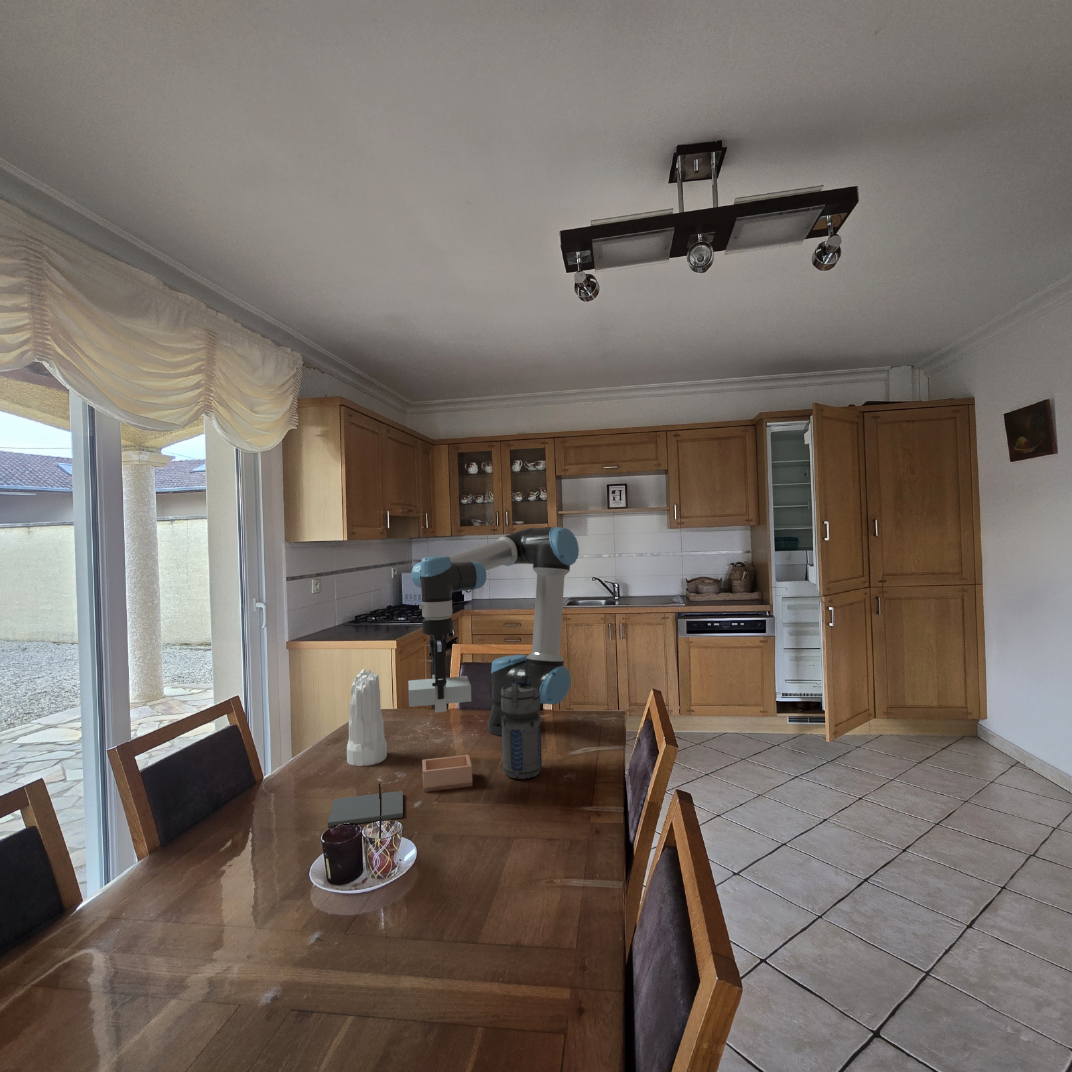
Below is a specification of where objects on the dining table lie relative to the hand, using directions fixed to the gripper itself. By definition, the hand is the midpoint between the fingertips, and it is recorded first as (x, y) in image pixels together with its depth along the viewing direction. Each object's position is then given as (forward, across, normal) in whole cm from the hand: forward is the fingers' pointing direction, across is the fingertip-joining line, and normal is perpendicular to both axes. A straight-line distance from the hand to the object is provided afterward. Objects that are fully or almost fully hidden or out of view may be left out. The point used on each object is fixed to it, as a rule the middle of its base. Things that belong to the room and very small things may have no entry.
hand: (439, 705), depth 151 cm
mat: (+20, +9, -18) cm, 28 cm away
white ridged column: (+20, -24, -20) cm, 37 cm away
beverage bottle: (+20, -2, +21) cm, 29 cm away
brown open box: (+20, -1, +1) cm, 20 cm away
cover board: (-2, 0, 0) cm, 2 cm away
